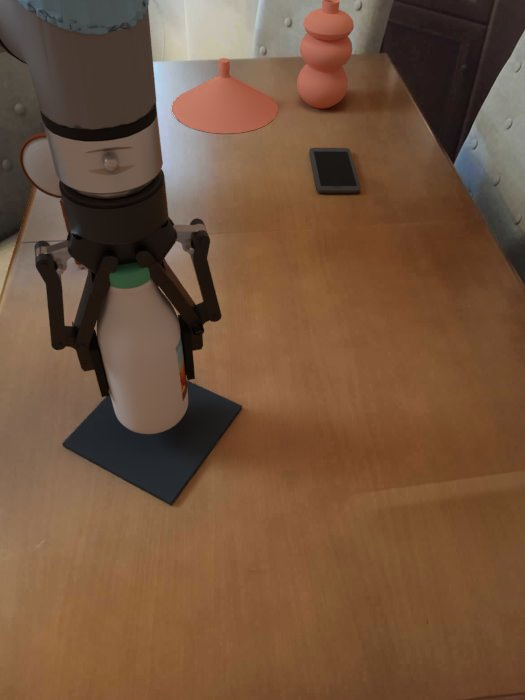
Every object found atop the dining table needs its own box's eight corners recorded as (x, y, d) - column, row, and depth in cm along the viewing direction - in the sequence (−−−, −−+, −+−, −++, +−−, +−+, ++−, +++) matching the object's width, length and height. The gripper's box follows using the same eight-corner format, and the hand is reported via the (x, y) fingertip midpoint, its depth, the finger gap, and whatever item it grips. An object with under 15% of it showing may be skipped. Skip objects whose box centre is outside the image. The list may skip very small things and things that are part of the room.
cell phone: (348, 151, 108) (349, 147, 107) (361, 194, 99) (361, 190, 98) (308, 151, 108) (308, 147, 107) (317, 194, 98) (317, 190, 98)
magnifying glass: (112, 266, 84) (86, 132, 70) (109, 274, 83) (82, 139, 68) (52, 261, 85) (14, 126, 70) (48, 269, 83) (8, 134, 69)
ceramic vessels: (175, 136, 110) (166, 26, 96) (168, 86, 124) (159, -16, 110) (358, 126, 115) (374, 20, 101) (331, 80, 129) (342, -19, 115)
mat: (62, 446, 64) (61, 443, 63) (142, 362, 72) (141, 358, 72) (171, 506, 59) (171, 503, 59) (242, 408, 68) (242, 405, 67)
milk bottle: (178, 441, 60) (158, 292, 45) (104, 430, 61) (61, 280, 46) (196, 383, 65) (183, 232, 51) (128, 374, 66) (96, 222, 51)
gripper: (-45, 222, 38) (41, 429, 55) (263, 181, 43) (256, 385, 59) (-39, 163, 43) (38, 370, 60) (236, 132, 48) (237, 333, 64)
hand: (147, 377), depth 60 cm, fingers closed on milk bottle, 8 cm apart
